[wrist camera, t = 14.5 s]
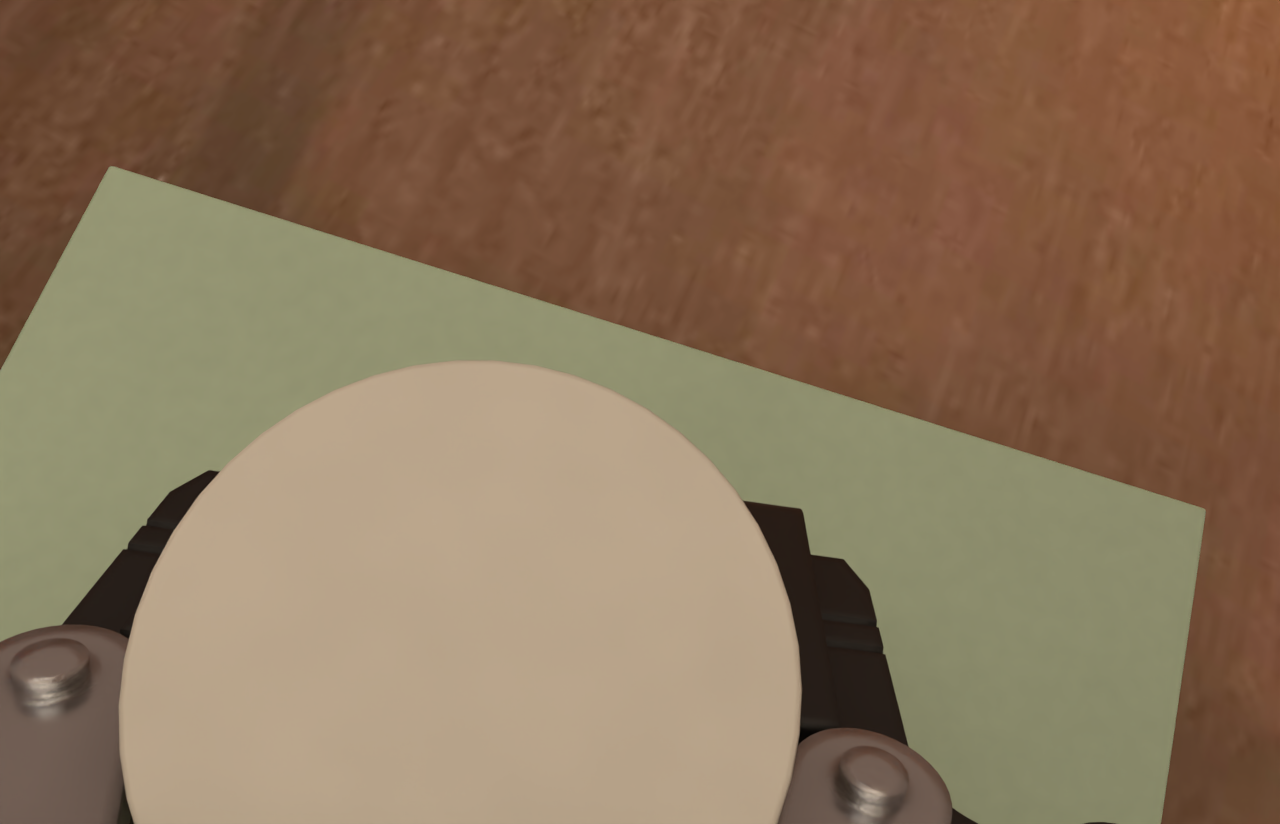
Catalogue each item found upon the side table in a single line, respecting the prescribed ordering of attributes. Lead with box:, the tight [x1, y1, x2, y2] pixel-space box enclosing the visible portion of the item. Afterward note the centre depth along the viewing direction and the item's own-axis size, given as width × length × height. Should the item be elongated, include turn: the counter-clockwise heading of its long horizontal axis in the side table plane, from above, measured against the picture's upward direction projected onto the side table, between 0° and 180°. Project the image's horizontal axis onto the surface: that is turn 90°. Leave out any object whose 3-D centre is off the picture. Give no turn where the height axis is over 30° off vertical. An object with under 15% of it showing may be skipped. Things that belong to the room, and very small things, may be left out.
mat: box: [0, 166, 1206, 824], centre depth 17 cm, size 20×16×1 cm
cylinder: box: [119, 360, 802, 824], centre depth 12 cm, size 4×4×9 cm
